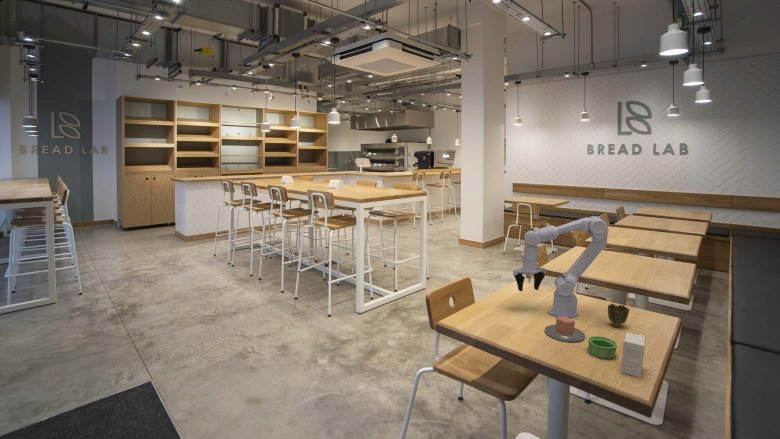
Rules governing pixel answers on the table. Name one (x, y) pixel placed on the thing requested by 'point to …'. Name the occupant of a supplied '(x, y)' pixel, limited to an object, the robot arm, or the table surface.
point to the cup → (617, 314)
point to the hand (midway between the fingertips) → (528, 289)
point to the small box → (633, 354)
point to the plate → (572, 338)
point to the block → (565, 326)
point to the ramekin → (602, 347)
